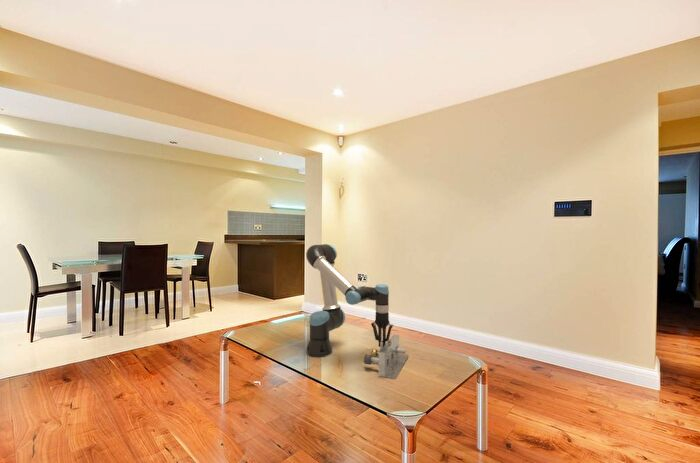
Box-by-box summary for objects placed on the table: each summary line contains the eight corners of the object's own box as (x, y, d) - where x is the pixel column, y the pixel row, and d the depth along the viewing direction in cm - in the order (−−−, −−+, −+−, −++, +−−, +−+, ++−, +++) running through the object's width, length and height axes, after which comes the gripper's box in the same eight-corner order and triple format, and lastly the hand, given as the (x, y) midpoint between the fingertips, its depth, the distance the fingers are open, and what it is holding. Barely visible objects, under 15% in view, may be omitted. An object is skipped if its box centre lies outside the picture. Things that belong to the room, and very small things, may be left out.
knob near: (364, 365, 164) (364, 355, 164) (367, 361, 168) (367, 352, 168) (384, 368, 159) (384, 359, 159) (387, 365, 164) (387, 355, 164)
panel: (378, 376, 157) (378, 352, 157) (394, 354, 185) (394, 334, 185) (395, 379, 154) (395, 354, 154) (408, 356, 181) (408, 336, 181)
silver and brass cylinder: (370, 357, 172) (370, 350, 172) (372, 355, 176) (372, 348, 176) (389, 360, 168) (389, 353, 168) (391, 358, 172) (391, 350, 172)
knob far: (385, 354, 178) (385, 345, 178) (387, 351, 183) (387, 343, 183) (404, 357, 174) (404, 348, 174) (406, 354, 178) (406, 345, 178)
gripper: (369, 312, 180) (369, 353, 180) (391, 314, 175) (391, 356, 175) (373, 309, 187) (373, 348, 187) (394, 311, 182) (394, 352, 182)
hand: (382, 352), depth 181 cm, fingers closed
